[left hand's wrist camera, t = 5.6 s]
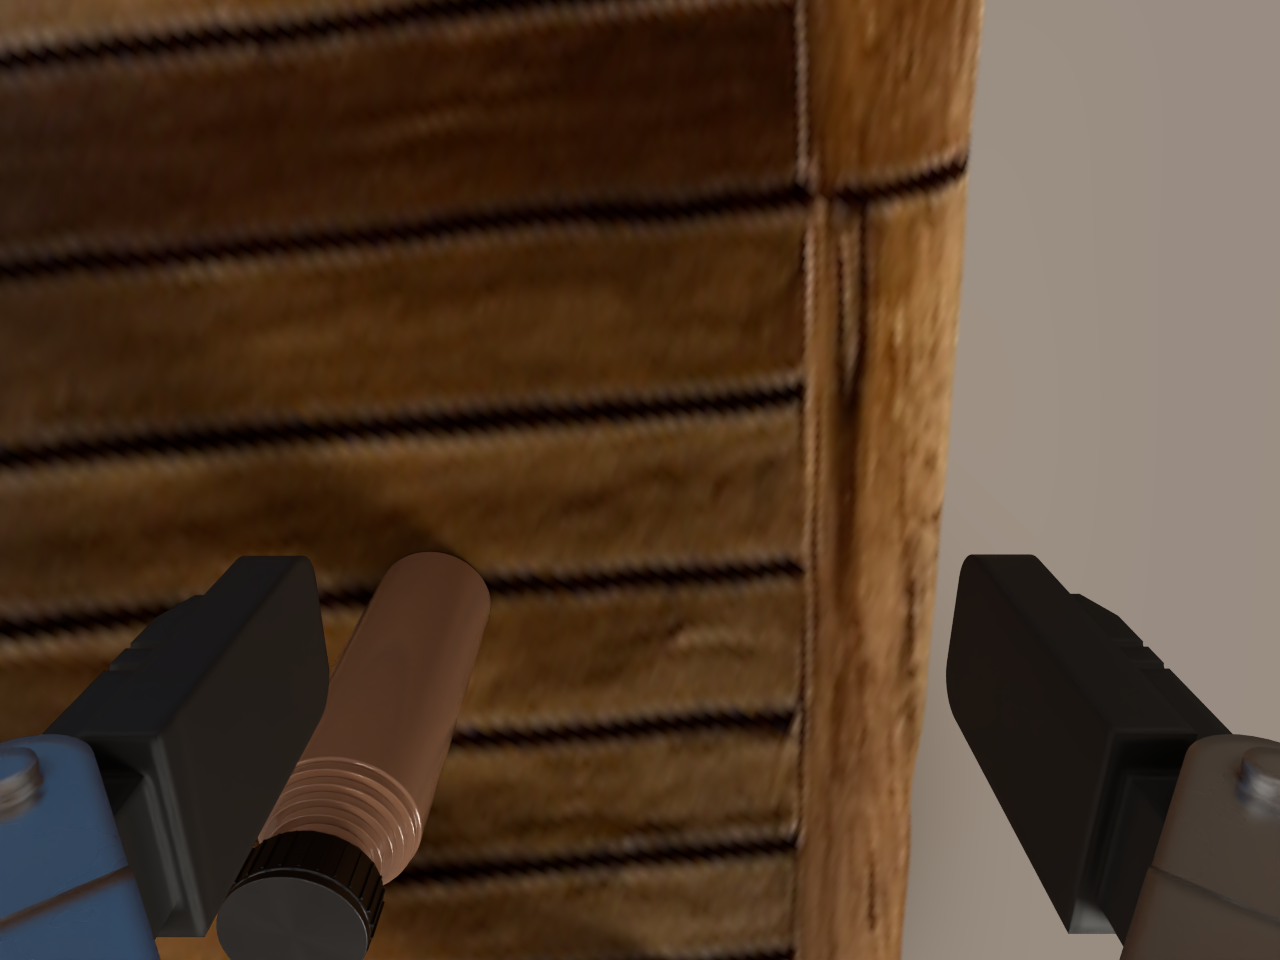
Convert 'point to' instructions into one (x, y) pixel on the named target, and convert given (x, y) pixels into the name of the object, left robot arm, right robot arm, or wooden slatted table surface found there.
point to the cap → (302, 900)
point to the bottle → (390, 712)
